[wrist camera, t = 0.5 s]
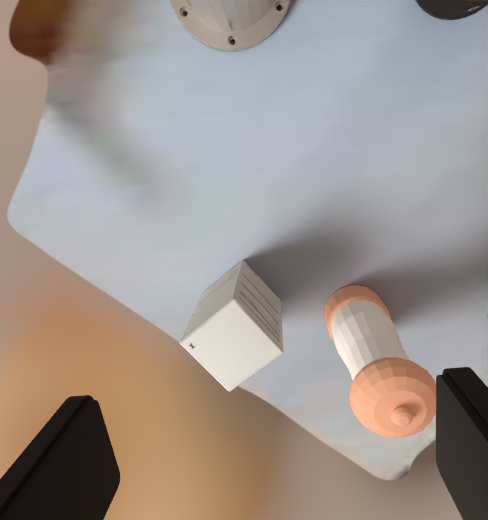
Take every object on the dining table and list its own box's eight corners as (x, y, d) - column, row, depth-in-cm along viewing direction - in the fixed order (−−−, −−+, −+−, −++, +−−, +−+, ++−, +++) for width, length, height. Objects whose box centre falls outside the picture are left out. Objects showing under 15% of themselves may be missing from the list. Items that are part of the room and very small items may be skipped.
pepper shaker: (328, 341, 48) (361, 463, 30) (319, 290, 46) (348, 387, 28) (386, 332, 47) (457, 453, 28) (379, 279, 45) (451, 373, 26)
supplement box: (239, 333, 48) (227, 395, 36) (201, 292, 47) (175, 342, 35) (283, 300, 47) (285, 354, 35) (244, 257, 45) (233, 297, 33)
